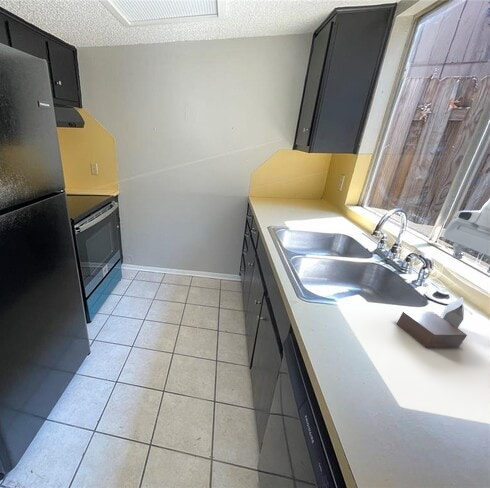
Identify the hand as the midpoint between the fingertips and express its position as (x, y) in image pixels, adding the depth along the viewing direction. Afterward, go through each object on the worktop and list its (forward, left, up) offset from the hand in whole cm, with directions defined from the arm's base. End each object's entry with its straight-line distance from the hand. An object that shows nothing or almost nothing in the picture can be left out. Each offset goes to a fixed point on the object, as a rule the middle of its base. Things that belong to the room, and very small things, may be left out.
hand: (473, 265), depth 76 cm
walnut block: (+10, +6, -22) cm, 24 cm away
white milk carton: (-1, +2, -22) cm, 22 cm away
